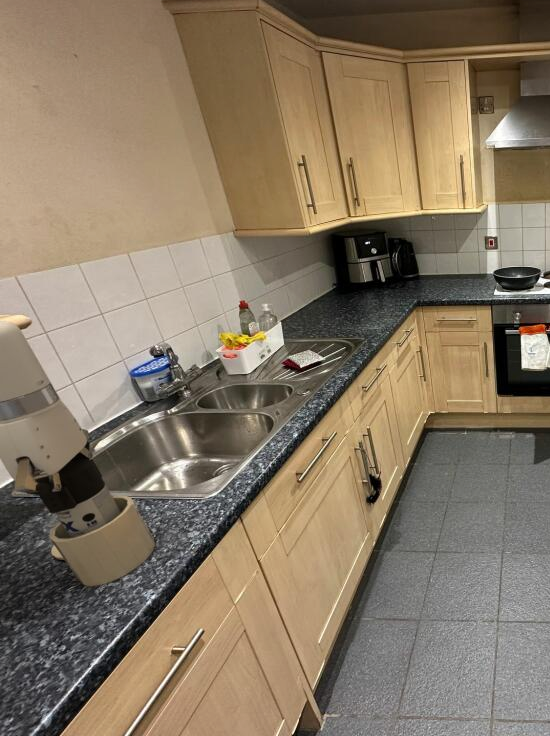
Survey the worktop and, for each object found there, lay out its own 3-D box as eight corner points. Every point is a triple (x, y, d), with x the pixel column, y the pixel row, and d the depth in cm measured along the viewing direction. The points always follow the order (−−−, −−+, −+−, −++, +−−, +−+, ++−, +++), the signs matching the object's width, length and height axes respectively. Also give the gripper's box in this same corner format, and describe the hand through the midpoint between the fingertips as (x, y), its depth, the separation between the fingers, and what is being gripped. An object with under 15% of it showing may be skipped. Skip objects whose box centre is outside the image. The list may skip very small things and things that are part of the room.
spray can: (84, 569, 72) (24, 480, 65) (127, 539, 78) (78, 454, 70) (106, 579, 70) (47, 488, 62) (149, 548, 76) (101, 461, 68)
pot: (66, 595, 68) (33, 550, 64) (100, 547, 77) (73, 505, 73) (140, 573, 71) (113, 529, 67) (164, 530, 80) (142, 489, 76)
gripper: (29, 384, 68) (81, 469, 75) (-64, 439, 53) (11, 540, 60) (85, 374, 70) (130, 459, 77) (11, 425, 55) (75, 524, 62)
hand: (78, 493), depth 68 cm, fingers closed on spray can, 6 cm apart
